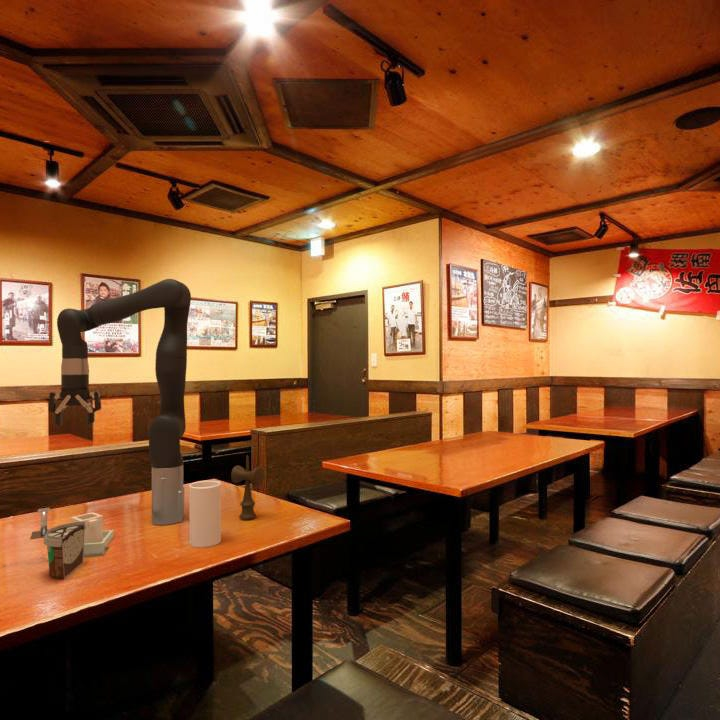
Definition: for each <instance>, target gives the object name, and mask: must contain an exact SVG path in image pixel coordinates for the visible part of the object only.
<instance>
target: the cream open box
mask: <svg viewBox="0 0 720 720" xmlns="http://www.w3.org/2000/svg"><path fill="white" fill-rule="evenodd" d="M83 521H85V525H86V529H85V533H84V544H86V543H99V542H102V540H103V539H104V538H103V531H104V515H102V514H99V513H96V512H93V511H92V512H89V513H84V514H80V515H75V516H71V517H70V523H73V522H83Z"/></svg>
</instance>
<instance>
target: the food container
mask: <svg viewBox="0 0 720 720" xmlns="http://www.w3.org/2000/svg"><path fill="white" fill-rule="evenodd" d="M85 529H86V525H85V521H83V522H73V523H71V522H69V523H64V524H60V525H56V526H54V527H51V528H50V529H47V530H48V531H47V533H46V535H45V538H43V544H44V546H46V549H47V559H48V569H49V570H48V571H49V577H50V578H52V579H53V580H66V578H68V577H69V576H70V575H72V573H74V572H75V571H76V570H77V569H78V568H79V567H81V566H82V565H83V564H84V557H83V555H84V533H85Z"/></svg>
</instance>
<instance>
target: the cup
mask: <svg viewBox="0 0 720 720" xmlns="http://www.w3.org/2000/svg"><path fill="white" fill-rule="evenodd" d="M221 487H222V485H221V481H218V480H199V481H195V482H192V483H189V546H191V547H193V548H194V547H195V548H209V547H214V546H216V545H218V544H220V543H221V540H222V523H221V521H222V519H221V518H222V514H221V513H222V511H221V510H222V506H221V505H222V502H221V501H222V497H221V496H222V493H221V491H222V490H221Z"/></svg>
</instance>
